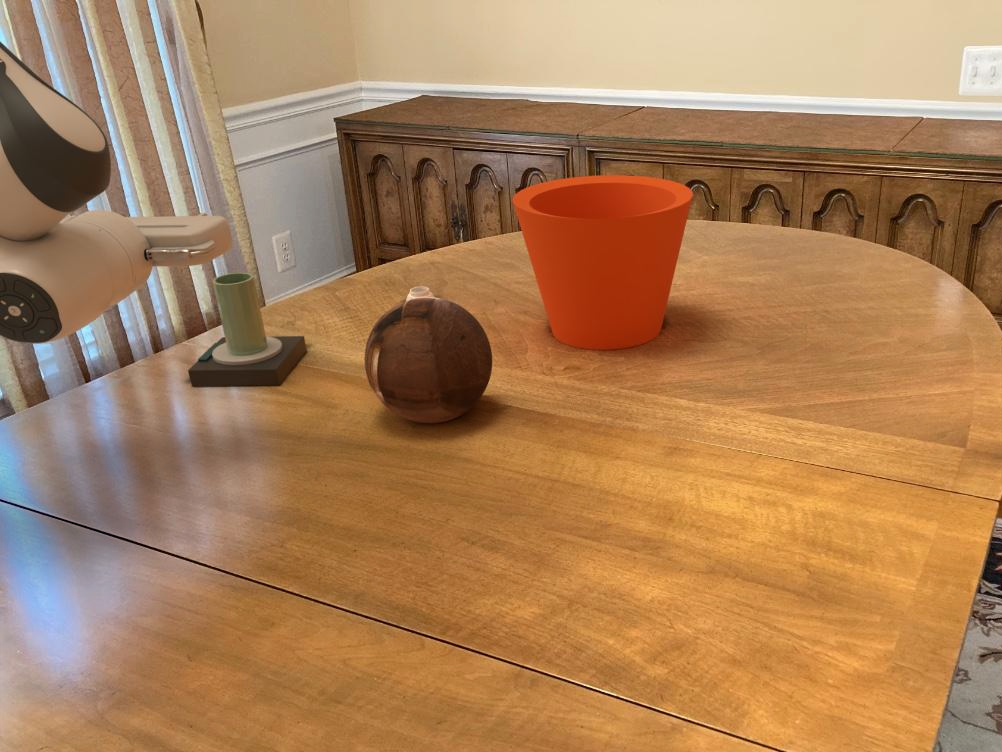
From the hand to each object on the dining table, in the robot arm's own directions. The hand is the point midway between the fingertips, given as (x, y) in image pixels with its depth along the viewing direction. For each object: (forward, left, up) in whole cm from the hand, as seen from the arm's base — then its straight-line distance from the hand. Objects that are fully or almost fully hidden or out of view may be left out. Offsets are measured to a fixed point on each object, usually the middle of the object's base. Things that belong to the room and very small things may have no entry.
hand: (161, 220), depth 111 cm
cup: (0, +15, -22) cm, 26 cm away
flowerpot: (+49, +28, -25) cm, 62 cm away
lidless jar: (+19, +39, -25) cm, 50 cm away
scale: (0, +15, -25) cm, 29 cm away
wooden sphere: (+29, -1, -25) cm, 38 cm away
